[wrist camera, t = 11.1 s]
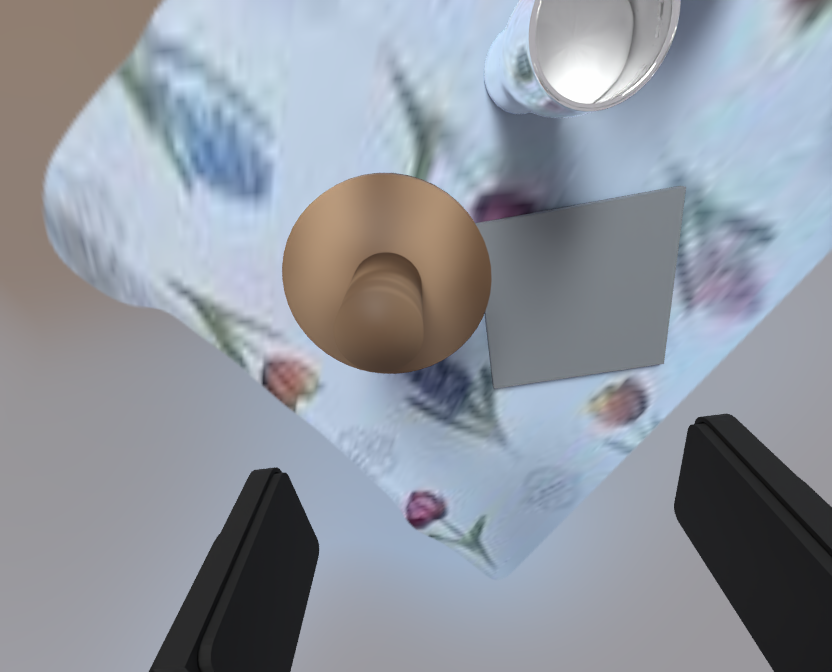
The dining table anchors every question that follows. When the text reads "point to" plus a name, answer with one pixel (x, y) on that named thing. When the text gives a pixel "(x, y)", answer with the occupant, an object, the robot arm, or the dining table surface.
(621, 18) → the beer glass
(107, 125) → the dining table surface
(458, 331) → the lid
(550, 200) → the dining table surface
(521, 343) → the mat
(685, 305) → the dining table surface
